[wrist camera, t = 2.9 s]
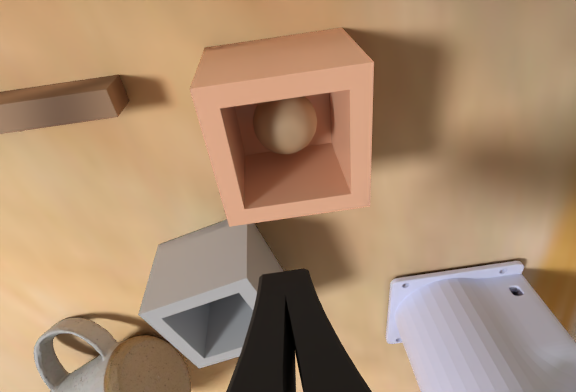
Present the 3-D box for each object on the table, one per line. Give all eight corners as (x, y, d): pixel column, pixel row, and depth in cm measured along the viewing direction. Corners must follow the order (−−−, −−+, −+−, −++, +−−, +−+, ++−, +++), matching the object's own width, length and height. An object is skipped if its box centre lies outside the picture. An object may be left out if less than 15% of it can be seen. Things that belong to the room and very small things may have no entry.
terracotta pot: (342, 27, 16) (374, 61, 12) (344, 148, 19) (370, 206, 15) (204, 47, 16) (189, 88, 12) (233, 164, 19) (229, 226, 15)
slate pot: (247, 211, 21) (246, 277, 17) (285, 273, 25) (292, 340, 21) (158, 245, 22) (138, 314, 18) (206, 299, 26) (199, 368, 22)
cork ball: (310, 74, 16) (319, 102, 14) (314, 130, 18) (323, 162, 16) (248, 83, 16) (247, 111, 14) (258, 138, 18) (259, 170, 16)
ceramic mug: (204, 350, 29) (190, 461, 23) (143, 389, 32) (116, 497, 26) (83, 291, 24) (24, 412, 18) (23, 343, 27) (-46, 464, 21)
